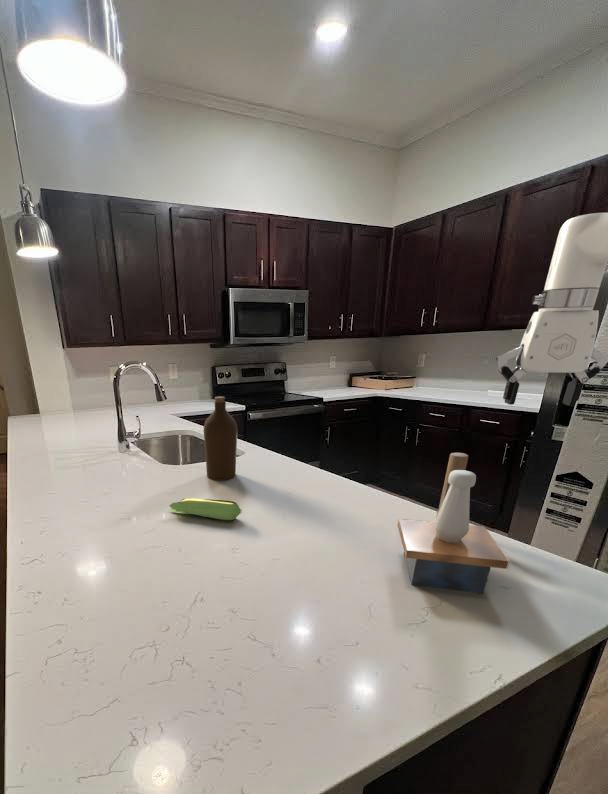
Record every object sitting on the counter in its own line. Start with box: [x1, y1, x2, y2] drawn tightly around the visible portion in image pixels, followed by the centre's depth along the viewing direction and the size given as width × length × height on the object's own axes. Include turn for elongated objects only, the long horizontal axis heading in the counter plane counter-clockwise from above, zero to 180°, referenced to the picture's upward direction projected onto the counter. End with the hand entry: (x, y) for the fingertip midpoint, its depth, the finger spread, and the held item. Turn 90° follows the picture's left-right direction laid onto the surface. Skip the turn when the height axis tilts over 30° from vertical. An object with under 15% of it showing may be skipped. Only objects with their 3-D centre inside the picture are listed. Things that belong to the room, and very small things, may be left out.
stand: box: [397, 518, 509, 594], centre depth 80 cm, size 16×14×8 cm
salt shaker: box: [434, 469, 477, 543], centre depth 76 cm, size 6×6×13 cm
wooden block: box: [435, 452, 469, 518], centre depth 93 cm, size 4×11×18 cm, turn 156°
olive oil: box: [203, 396, 239, 481], centre depth 132 cm, size 11×11×25 cm
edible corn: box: [168, 497, 243, 522], centre depth 106 cm, size 5×20×5 cm, turn 71°
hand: (538, 404), depth 78 cm, fingers open, 9 cm apart
